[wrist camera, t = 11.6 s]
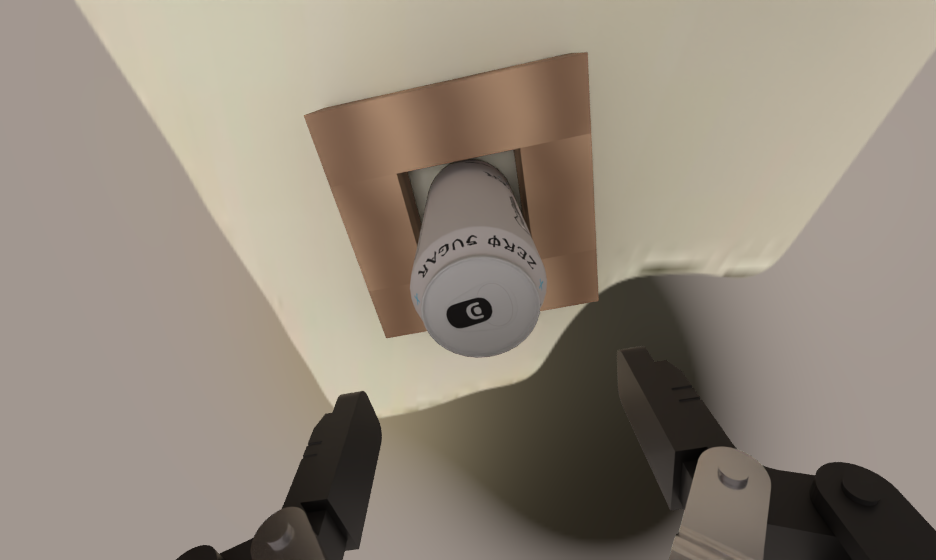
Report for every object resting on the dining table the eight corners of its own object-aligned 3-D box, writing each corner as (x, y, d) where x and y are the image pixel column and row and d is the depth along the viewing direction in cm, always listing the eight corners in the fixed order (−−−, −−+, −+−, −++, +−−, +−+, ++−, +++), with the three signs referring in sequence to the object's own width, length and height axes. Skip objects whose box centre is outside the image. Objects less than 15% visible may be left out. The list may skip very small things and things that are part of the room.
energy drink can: (520, 222, 30) (569, 345, 17) (445, 246, 31) (438, 383, 18) (496, 144, 27) (534, 220, 14) (415, 173, 28) (380, 271, 15)
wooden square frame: (569, 53, 25) (587, 52, 21) (583, 274, 32) (598, 300, 29) (324, 108, 26) (303, 115, 23) (393, 309, 34) (386, 338, 30)
